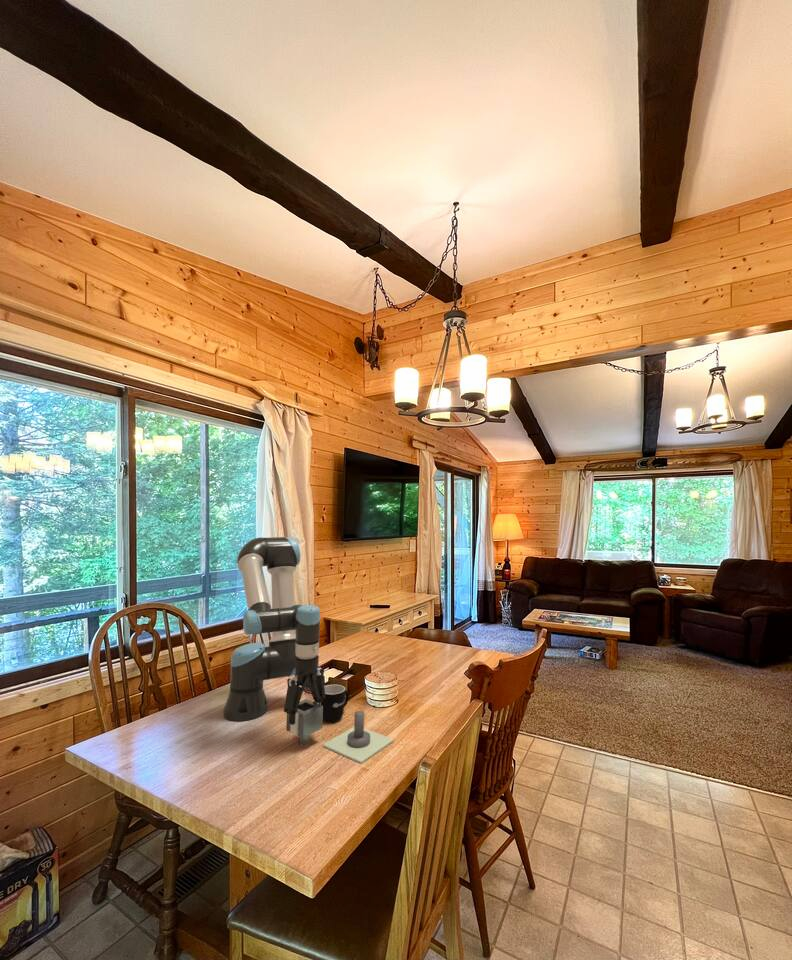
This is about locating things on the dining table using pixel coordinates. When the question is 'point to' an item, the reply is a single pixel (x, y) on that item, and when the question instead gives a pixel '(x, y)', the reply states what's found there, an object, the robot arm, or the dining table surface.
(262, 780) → the dining table surface
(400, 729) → the dining table surface
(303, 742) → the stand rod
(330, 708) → the mug
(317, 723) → the collar
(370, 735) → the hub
